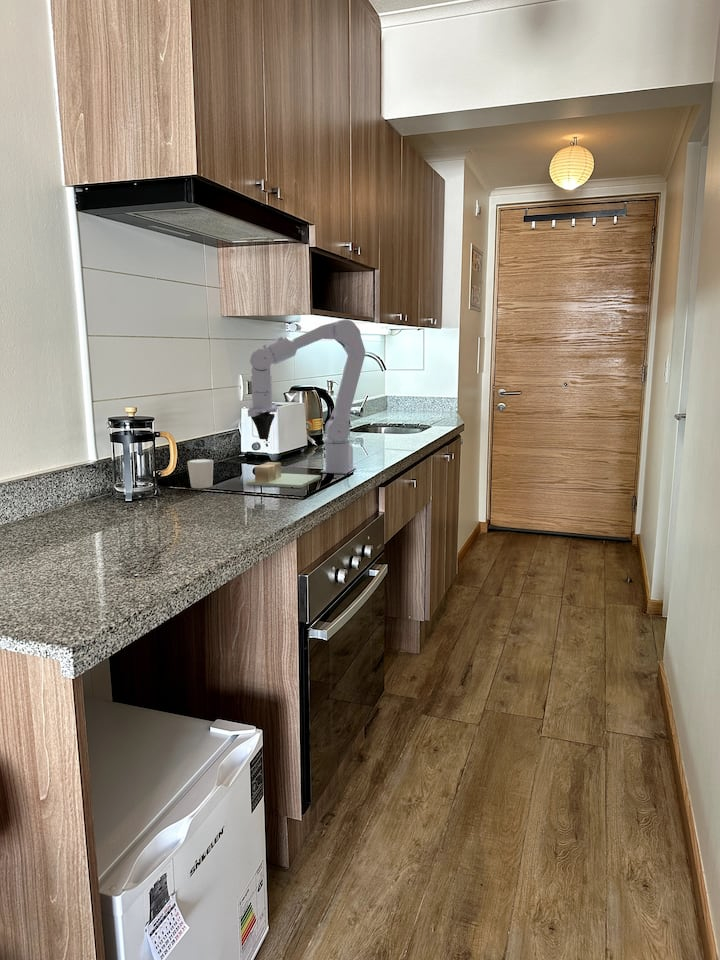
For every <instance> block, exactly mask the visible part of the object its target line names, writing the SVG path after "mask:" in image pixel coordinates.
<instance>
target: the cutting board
mask: <svg viewBox="0 0 720 960" xmlns="http://www.w3.org/2000/svg"><path fill="white" fill-rule="evenodd" d="M320 479H322V475H319V474H302V473H301V474H300V473H282V472H281V477H280V478H277V479H275V480H273V481H270V482H256V481H255V478H253V479H251V480H248V481H246V485H248V486H259V485H260V486H262V487H264V486H265V487H275V486H276V487H278V488H280V487H281V488H291V487H293V488H294V489H302V488H304V487H306V486H308V485H310V484H312V483H314V482H317V481H319V480H320Z"/></svg>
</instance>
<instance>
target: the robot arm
mask: <svg viewBox="0 0 720 960" xmlns="http://www.w3.org/2000/svg"><path fill="white" fill-rule="evenodd" d="M361 335H362V334H361V330H360V329H359V328H358V326H357V325H356V323H355V322H354V321H352V319H346V318H345V319H341V320H338V321H334V322H330V323H327V324H323V325H320V326H318V327H316V328H314V329H311V330H310V331H308V332H306V333H304V334H301V335H299V336H297V337H295V338H290V337H287V336H286V337H283V336H281V337H278V338H277V339H278V340H276V341H274V342H272V343H270V344H268V345H267V344H264V345H262V348H258V349H256V350H255V351H253V352H252V354H251V356H250V359H249V361H250V365H251V366H252V367H251V376H250V378H251V400H252V406H250V407H248V409H247V417H250V418H251V420H252V422H253V424H254V425H255V429H256V431H257V434H258V437H259V440H268V439H269V436H270V431H271V425H272V424H273V421H274V419H275V417H276V416H275V415H276V414H275V413H276V412H277V411H278V407H277V404H273V383H272V375H271V366H272V364H273V365H277V364H280V363H282V362H284V361H286V360H288V359H290V358H293V357H295V356H296V354H297V351H298V350H299V349H301V348H303V347H307V346H309V345H311V344H314V343H315V342H319V341H320V340H335V341H336V342H337V343H339V344H340V345H341V346H342V349H343V350H344V352H345V353H346V355H347V358H346V360H345V366H344V369H343V373H342V377H341V381H340V385H339V389H338V391H337V395H336V400H335V403H334V408H333V409H332V411H331V415H330V418H329V419H328V420H327V421H326V423H325V425H324V431H325V434H326V435H327V438H326V439H325V440H324V448H325V449H324V450H325V452H324V453H325V455H324V456H325V459H324V460H325V468H324V469H322V470H320V473H324V474H325V473H326V474H340V475H343V474H344V475H345V474H348V473H350V472H353V471H354V470H355V469H357V467H356V466H354V448H353V445H352V443H350V439H349V436H350V433H351V429H350V425H349V424H350V421H351V420H350V419H351V411H352V405H353V403H354V398H355V395H356V391H357V387H358V383H359V379H360V376H361V372H362V369H363V365H364V361H365V357H366V349H365V345H364V341H363V339H362V336H361Z"/></svg>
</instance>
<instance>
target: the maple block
mask: <svg viewBox="0 0 720 960" xmlns="http://www.w3.org/2000/svg"><path fill="white" fill-rule="evenodd" d="M281 473H282V462H275V461H274V462H273V461H271V462H270V461H267V462H264V463H261V464H258V465H257V466H255V467H254V477H255V478H254V479H255V481H256V482H270V481H273V480H275V479H277V478H280V477H281Z"/></svg>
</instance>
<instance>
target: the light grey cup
mask: <svg viewBox="0 0 720 960" xmlns="http://www.w3.org/2000/svg"><path fill="white" fill-rule="evenodd" d="M187 469H188V475H189V481H190V487H191V488H192V489H207V488H211V487H213V481H214V460H213V459H212V458H211V459H209V458H196V459H191V460H188V461H187Z"/></svg>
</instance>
